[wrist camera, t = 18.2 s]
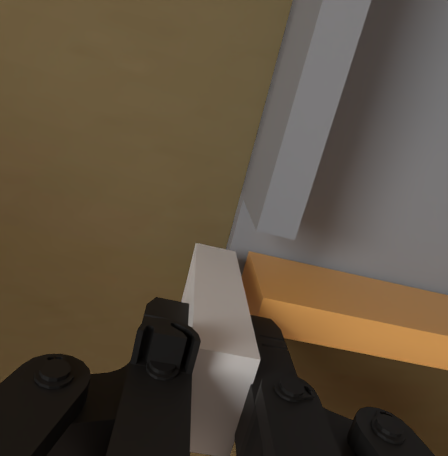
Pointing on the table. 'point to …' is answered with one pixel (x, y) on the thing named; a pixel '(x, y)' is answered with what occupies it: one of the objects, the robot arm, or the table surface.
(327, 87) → the box
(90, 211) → the table surface
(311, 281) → the orange long flat block
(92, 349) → the table surface
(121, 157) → the table surface
